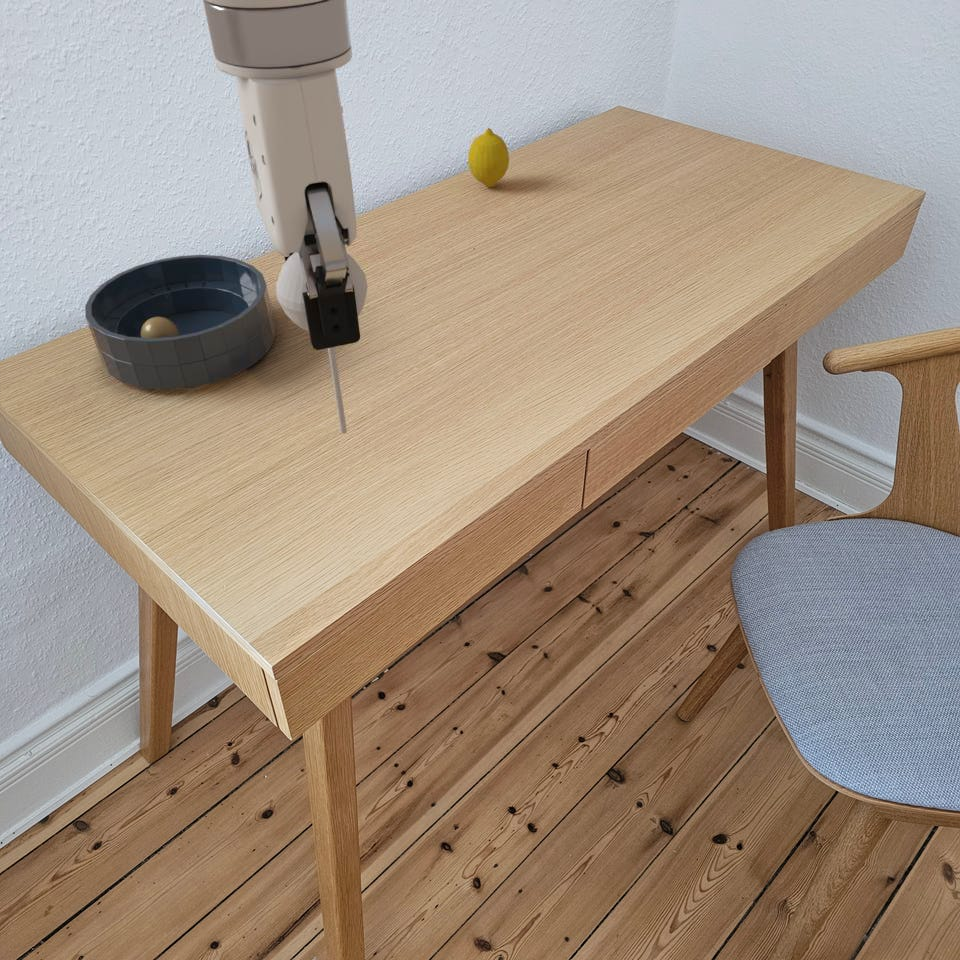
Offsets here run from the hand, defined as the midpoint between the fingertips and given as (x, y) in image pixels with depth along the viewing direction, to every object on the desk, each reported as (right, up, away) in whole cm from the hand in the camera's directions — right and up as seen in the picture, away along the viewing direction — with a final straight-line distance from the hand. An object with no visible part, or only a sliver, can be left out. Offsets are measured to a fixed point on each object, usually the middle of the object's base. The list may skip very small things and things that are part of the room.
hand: (324, 317), depth 58 cm
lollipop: (0, -8, +7) cm, 10 cm away
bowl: (-19, +3, +29) cm, 35 cm away
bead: (-21, +3, +27) cm, 34 cm away
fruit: (+12, +29, +59) cm, 67 cm away
